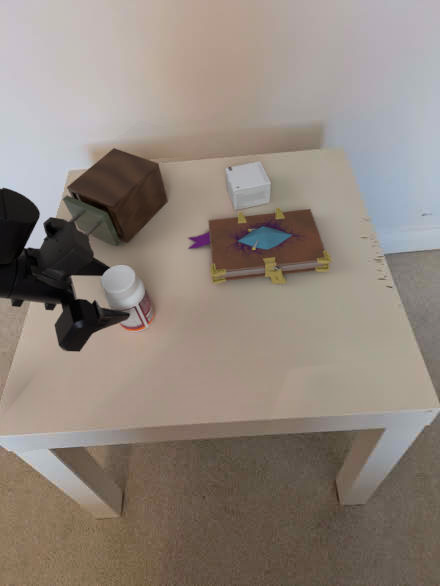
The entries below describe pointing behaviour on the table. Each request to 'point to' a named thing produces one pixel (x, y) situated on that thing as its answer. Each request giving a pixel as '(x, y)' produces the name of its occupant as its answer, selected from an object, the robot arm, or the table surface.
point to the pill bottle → (128, 297)
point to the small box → (248, 185)
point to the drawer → (93, 218)
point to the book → (264, 246)
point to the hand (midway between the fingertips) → (120, 293)
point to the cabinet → (124, 189)
